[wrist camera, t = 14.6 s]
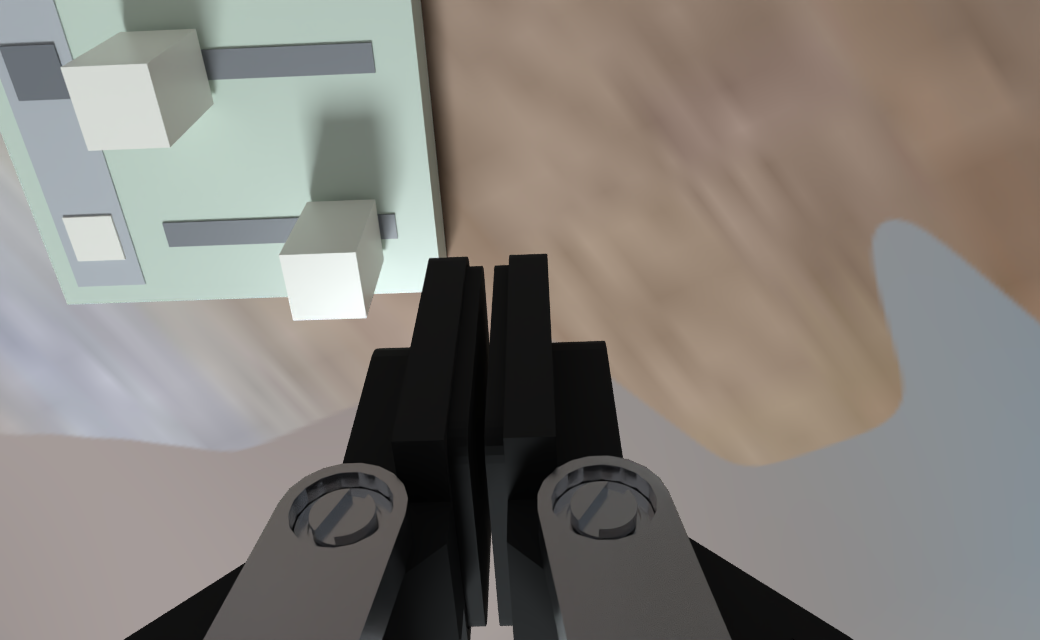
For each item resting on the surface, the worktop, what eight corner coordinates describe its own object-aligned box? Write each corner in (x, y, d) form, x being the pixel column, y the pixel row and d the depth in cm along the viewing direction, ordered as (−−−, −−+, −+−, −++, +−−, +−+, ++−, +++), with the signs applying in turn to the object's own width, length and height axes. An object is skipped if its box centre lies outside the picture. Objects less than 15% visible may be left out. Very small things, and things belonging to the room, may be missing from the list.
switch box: (392, -274, 30) (379, -281, 28) (447, 261, 42) (441, 293, 39) (-93, -248, 31) (-153, -252, 28) (94, 274, 43) (65, 306, 40)
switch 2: (375, 199, 37) (355, 252, 32) (384, 259, 38) (366, 318, 34) (307, 201, 37) (278, 255, 32) (318, 262, 38) (293, 320, 34)
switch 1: (195, 28, 33) (146, 63, 28) (213, 103, 34) (170, 147, 30) (120, 32, 33) (60, 67, 29) (141, 107, 34) (88, 150, 30)
